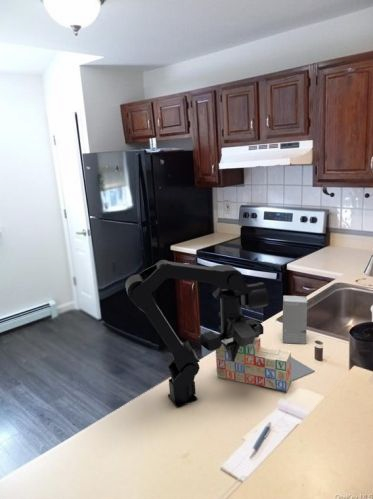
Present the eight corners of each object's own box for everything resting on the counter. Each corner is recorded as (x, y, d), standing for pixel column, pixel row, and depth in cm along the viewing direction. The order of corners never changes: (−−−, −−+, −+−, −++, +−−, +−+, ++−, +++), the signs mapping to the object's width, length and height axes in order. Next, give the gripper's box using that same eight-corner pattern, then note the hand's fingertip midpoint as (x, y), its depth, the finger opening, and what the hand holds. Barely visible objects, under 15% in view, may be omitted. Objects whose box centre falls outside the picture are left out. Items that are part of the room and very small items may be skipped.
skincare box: (282, 343, 133) (282, 301, 129) (282, 334, 140) (281, 294, 136) (307, 344, 131) (307, 302, 127) (306, 335, 138) (306, 294, 134)
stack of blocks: (291, 380, 110) (291, 342, 108) (286, 392, 105) (286, 351, 102) (224, 367, 120) (222, 331, 118) (216, 376, 115) (214, 339, 112)
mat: (279, 386, 108) (279, 385, 108) (245, 363, 122) (245, 362, 122) (314, 371, 114) (314, 370, 114) (279, 350, 128) (279, 349, 128)
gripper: (218, 329, 93) (220, 385, 97) (276, 312, 101) (276, 363, 105) (196, 314, 103) (199, 366, 106) (251, 300, 111) (251, 347, 115)
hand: (232, 361), depth 108 cm, fingers closed
